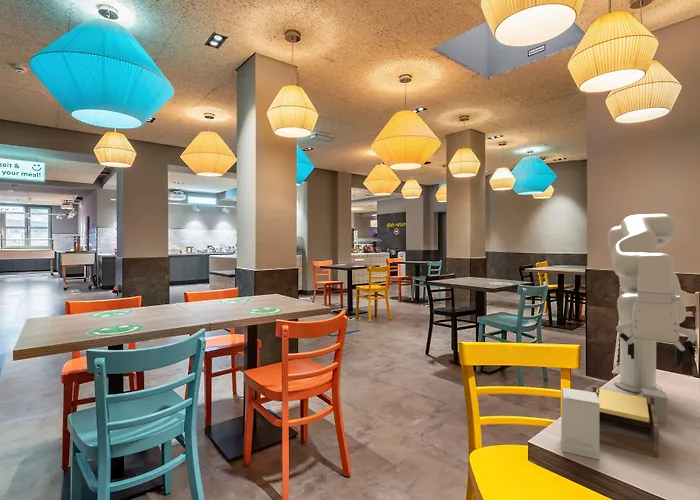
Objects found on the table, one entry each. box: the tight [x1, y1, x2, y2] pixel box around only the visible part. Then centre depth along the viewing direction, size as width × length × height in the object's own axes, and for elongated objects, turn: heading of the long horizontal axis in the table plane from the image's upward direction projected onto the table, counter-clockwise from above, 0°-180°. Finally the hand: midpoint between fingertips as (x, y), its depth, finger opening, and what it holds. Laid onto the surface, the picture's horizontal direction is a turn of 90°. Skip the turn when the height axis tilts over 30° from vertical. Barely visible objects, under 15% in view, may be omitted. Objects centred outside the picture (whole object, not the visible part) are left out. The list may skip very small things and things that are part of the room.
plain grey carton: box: [642, 388, 668, 425], centre depth 102 cm, size 5×5×7 cm
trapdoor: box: [597, 388, 649, 422], centre depth 94 cm, size 14×11×1 cm
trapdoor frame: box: [592, 385, 660, 459], centre depth 94 cm, size 17×13×8 cm
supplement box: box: [560, 387, 600, 460], centre depth 87 cm, size 7×7×13 cm
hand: (654, 361), depth 102 cm, fingers open, 9 cm apart
